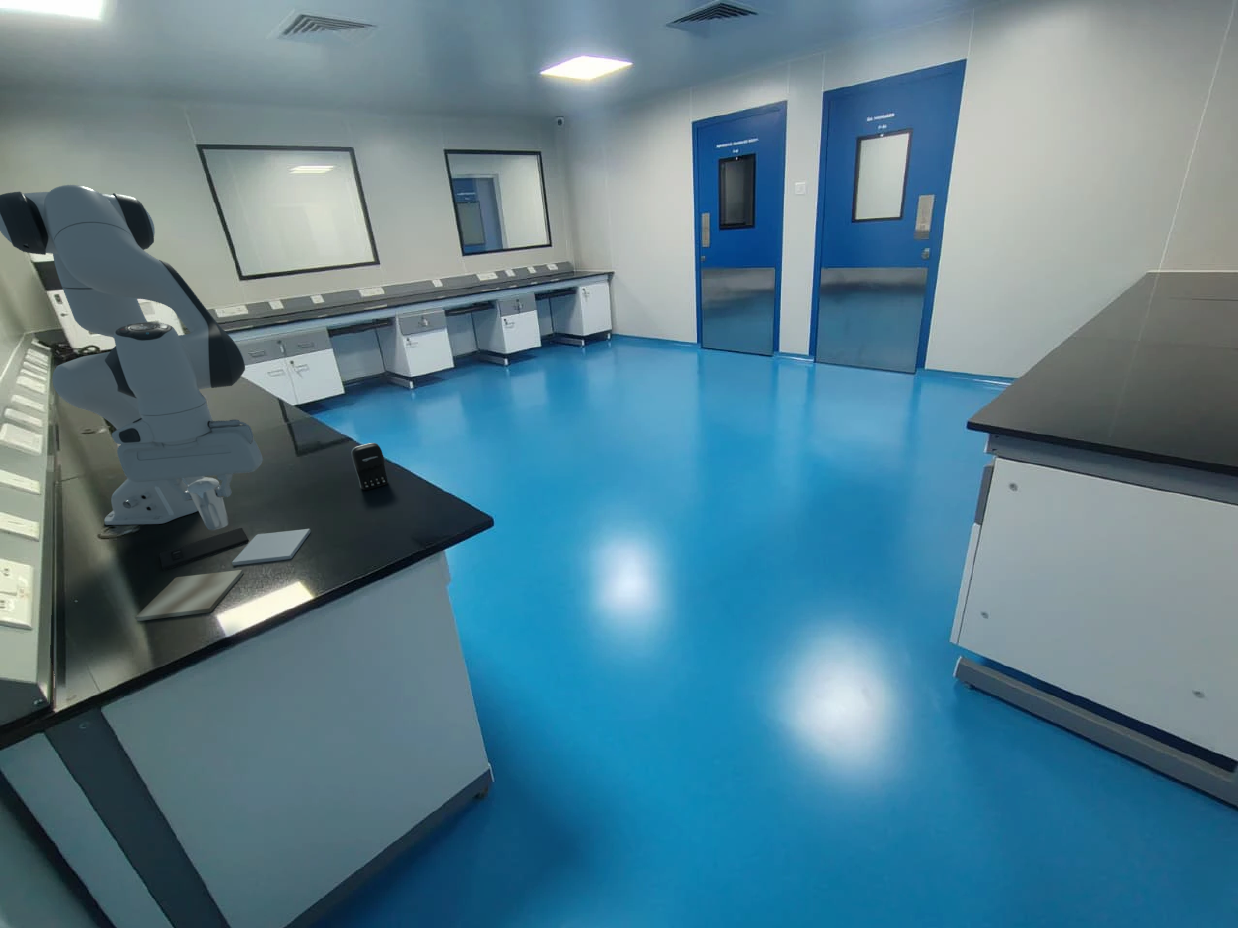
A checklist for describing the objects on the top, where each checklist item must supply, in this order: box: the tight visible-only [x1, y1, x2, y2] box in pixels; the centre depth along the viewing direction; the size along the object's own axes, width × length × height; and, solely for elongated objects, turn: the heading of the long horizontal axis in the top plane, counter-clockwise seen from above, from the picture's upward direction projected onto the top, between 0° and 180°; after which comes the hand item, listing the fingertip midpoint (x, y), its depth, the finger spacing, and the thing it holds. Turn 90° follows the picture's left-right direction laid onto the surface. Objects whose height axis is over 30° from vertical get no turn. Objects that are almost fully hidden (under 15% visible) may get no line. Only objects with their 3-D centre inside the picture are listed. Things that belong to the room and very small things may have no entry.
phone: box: [159, 527, 250, 571], centre depth 116 cm, size 8×1×15 cm
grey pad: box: [231, 528, 312, 566], centre depth 115 cm, size 11×11×1 cm
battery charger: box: [351, 442, 389, 491], centre depth 139 cm, size 7×4×11 cm, turn 127°
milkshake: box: [181, 476, 230, 531], centre depth 96 cm, size 5×5×10 cm
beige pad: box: [134, 569, 244, 622], centre depth 101 cm, size 12×12×1 cm
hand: (208, 497), depth 96 cm, fingers closed on milkshake, 4 cm apart
